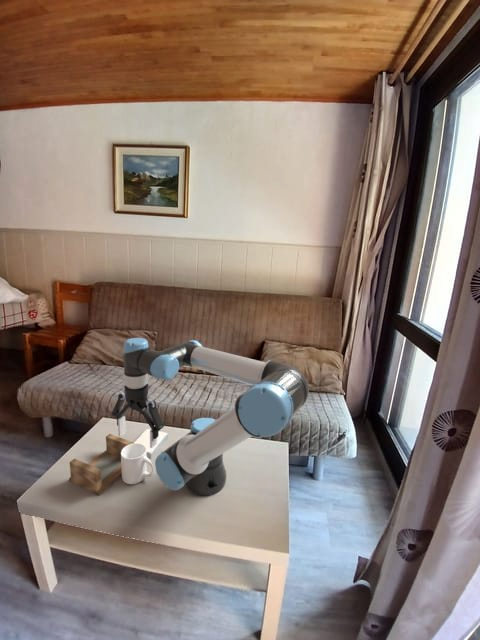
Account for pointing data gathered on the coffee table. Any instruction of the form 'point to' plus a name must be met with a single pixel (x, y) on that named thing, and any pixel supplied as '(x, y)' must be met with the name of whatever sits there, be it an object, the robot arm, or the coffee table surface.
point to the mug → (134, 463)
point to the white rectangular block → (145, 441)
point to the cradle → (100, 467)
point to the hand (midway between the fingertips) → (137, 439)
